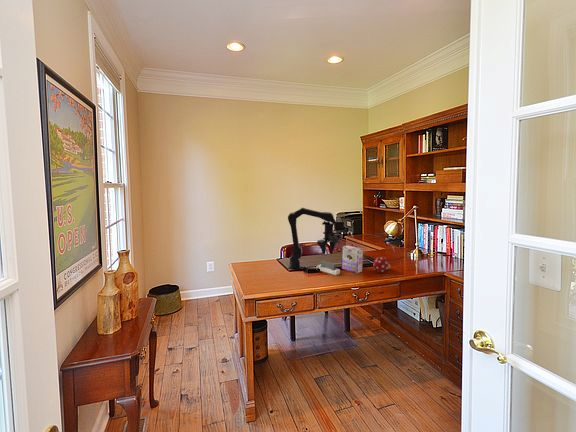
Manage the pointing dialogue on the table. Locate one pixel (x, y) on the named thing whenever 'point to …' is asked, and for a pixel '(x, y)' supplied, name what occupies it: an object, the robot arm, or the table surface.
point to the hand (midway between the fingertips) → (328, 252)
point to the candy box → (352, 259)
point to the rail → (329, 270)
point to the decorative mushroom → (381, 264)
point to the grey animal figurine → (328, 265)
